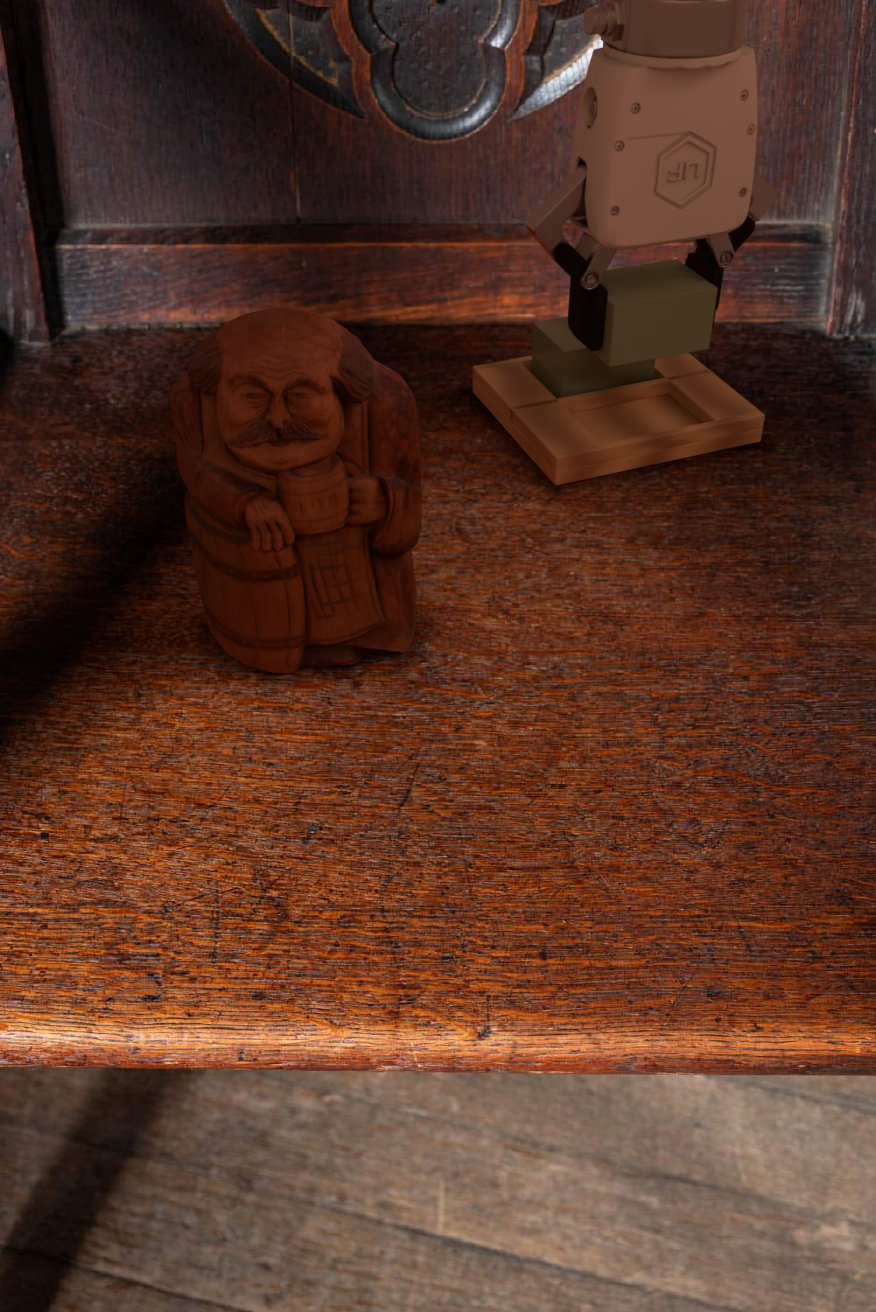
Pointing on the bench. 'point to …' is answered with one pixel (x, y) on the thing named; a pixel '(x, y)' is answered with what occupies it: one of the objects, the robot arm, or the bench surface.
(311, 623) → the wooden figurine
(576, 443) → the frame
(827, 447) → the bench surface
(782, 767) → the bench surface
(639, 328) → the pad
